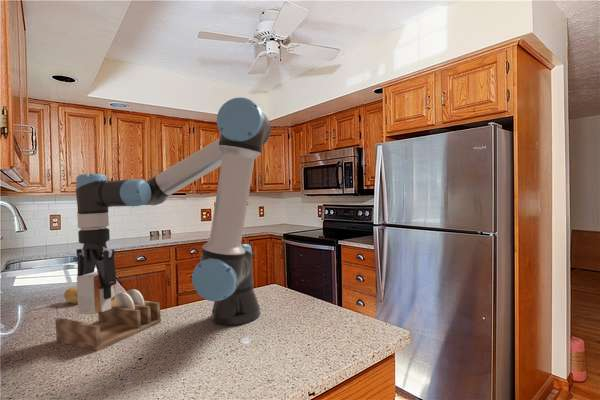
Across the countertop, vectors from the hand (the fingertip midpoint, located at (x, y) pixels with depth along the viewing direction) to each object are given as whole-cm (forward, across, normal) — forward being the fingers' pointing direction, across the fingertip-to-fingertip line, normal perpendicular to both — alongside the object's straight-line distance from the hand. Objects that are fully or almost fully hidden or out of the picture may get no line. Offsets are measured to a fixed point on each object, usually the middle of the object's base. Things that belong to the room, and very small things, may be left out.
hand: (97, 308), depth 93 cm
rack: (+8, 0, -4) cm, 9 cm away
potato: (+8, +41, -18) cm, 45 cm away
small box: (0, 0, 0) cm, 0 cm away
